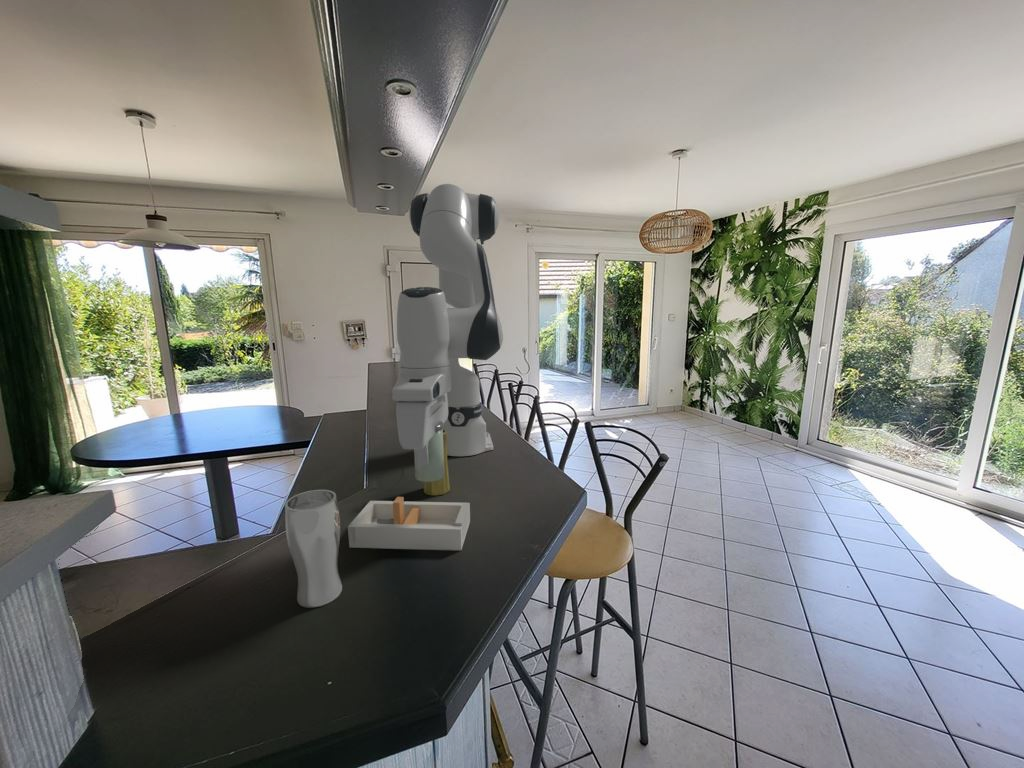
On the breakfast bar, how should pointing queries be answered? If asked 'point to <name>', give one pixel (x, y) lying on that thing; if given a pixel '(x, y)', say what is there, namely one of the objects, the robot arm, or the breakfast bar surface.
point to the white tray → (411, 526)
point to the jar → (432, 458)
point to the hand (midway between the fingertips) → (428, 457)
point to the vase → (442, 484)
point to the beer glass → (314, 545)
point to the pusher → (401, 514)
